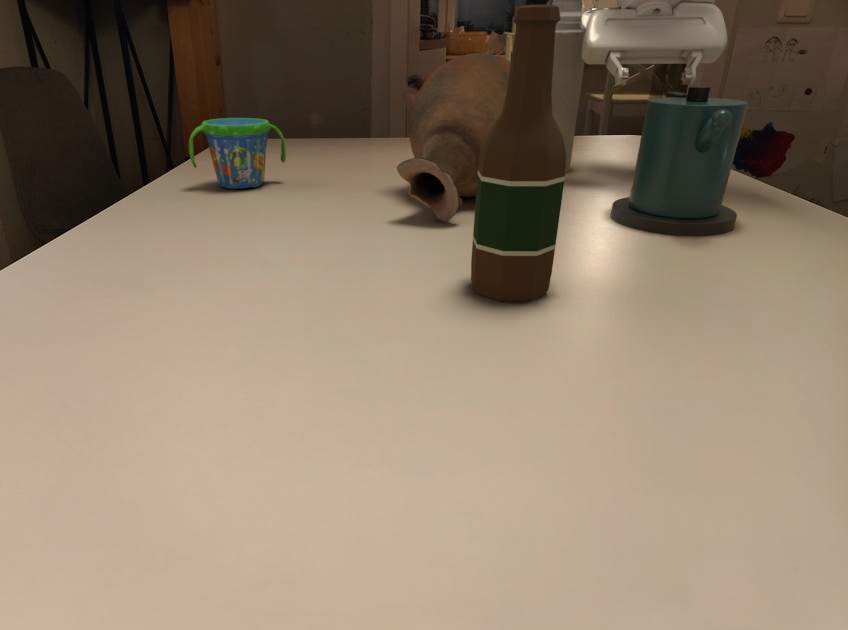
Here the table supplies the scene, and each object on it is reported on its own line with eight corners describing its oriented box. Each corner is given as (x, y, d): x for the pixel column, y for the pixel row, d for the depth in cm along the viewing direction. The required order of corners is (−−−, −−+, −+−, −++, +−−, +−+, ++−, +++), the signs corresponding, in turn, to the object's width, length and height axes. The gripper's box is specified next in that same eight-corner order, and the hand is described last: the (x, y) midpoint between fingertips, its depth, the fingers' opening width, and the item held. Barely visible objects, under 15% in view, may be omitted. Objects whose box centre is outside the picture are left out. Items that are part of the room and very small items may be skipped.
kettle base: (709, 207, 87) (712, 196, 87) (753, 237, 74) (757, 225, 74) (600, 204, 89) (602, 194, 88) (624, 233, 76) (626, 221, 75)
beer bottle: (555, 281, 62) (594, 5, 50) (540, 308, 55) (581, 1, 44) (480, 270, 65) (501, 8, 53) (458, 296, 58) (476, 4, 47)
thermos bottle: (515, 168, 113) (533, -8, 100) (542, 163, 118) (562, -6, 105) (552, 175, 108) (575, -10, 95) (578, 169, 112) (604, -9, 99)
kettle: (611, 188, 91) (630, 80, 84) (689, 190, 90) (715, 80, 83) (649, 226, 73) (676, 93, 66) (747, 229, 72) (786, 93, 65)
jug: (453, 175, 109) (372, 248, 88) (429, 56, 99) (331, 108, 79) (569, 161, 97) (507, 241, 77) (554, 25, 88) (479, 77, 68)
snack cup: (285, 176, 109) (280, 115, 104) (292, 189, 100) (288, 122, 95) (194, 181, 106) (185, 118, 101) (193, 195, 97) (184, 126, 92)
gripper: (584, -9, 93) (588, 66, 88) (727, -12, 91) (737, 65, 87) (574, 25, 99) (577, 97, 95) (708, 23, 97) (717, 96, 93)
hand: (655, 81), depth 91 cm, fingers open, 8 cm apart
